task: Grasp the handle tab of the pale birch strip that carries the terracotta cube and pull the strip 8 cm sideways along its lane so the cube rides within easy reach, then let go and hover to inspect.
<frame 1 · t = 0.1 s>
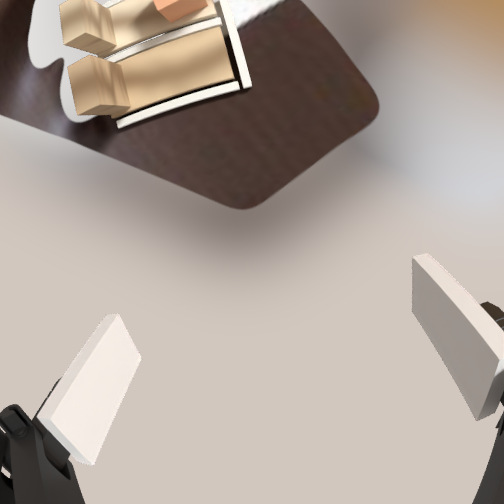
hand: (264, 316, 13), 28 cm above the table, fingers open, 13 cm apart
lane rails: (160, 42, 32), on the table
birch strip: (138, 4, 26), point 5 cm above the table, slide at 0.3 cm, touching cube
wooden l-shaped block: (152, 66, 29), point 5 cm above the table, slide at 0.3 cm
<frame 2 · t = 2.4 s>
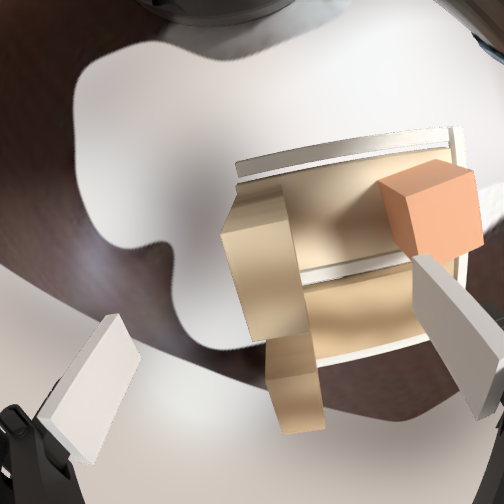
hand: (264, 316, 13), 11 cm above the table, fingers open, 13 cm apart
lane rails: (364, 259, 24), on the table
cube: (416, 201, 21), point 1 cm above the table, touching birch strip
birch strip: (374, 227, 18), point 5 cm above the table, slide at 0.3 cm, touching cube
wooden l-shaped block: (380, 342, 21), point 5 cm above the table, slide at 0.3 cm
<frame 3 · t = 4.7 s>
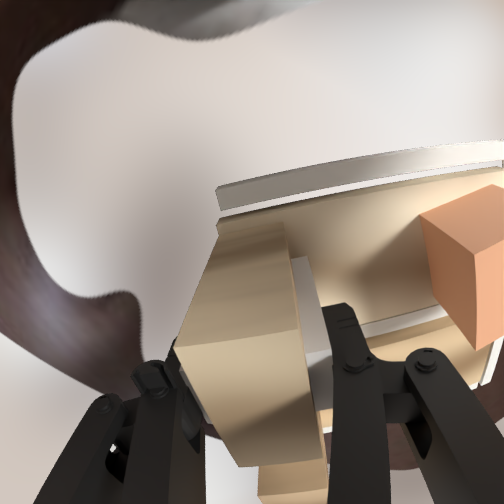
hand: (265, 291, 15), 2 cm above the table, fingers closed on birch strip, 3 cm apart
lane rails: (391, 314, 18), on the table
cube: (464, 241, 14), point 1 cm above the table, touching birch strip
birch strip: (419, 292, 12), point 5 cm above the table, slide at 0.3 cm, touching cube, gripper
wooden l-shaped block: (406, 420, 15), point 5 cm above the table, slide at 0.3 cm
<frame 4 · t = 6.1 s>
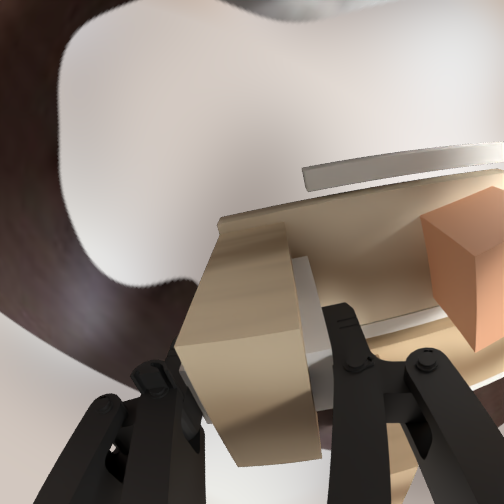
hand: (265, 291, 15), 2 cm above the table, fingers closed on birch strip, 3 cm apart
lane rails: (446, 300, 17), on the table
cube: (465, 243, 14), point 1 cm above the table, touching birch strip
birch strip: (420, 293, 12), point 5 cm above the table, slide at 4.4 cm, touching cube, gripper
wooden l-shaped block: (463, 401, 14), point 5 cm above the table, slide at 0.3 cm
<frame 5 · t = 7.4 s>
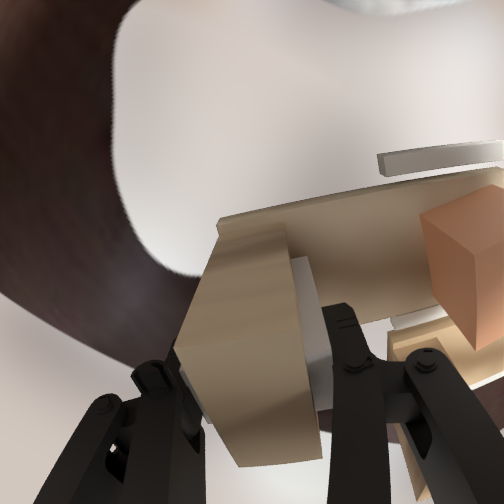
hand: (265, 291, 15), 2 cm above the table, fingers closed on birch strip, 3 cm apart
lane rails: (492, 284, 17), on the table
cube: (465, 241, 14), point 1 cm above the table, touching birch strip
birch strip: (419, 292, 12), point 5 cm above the table, slide at 8.3 cm, touching cube, gripper
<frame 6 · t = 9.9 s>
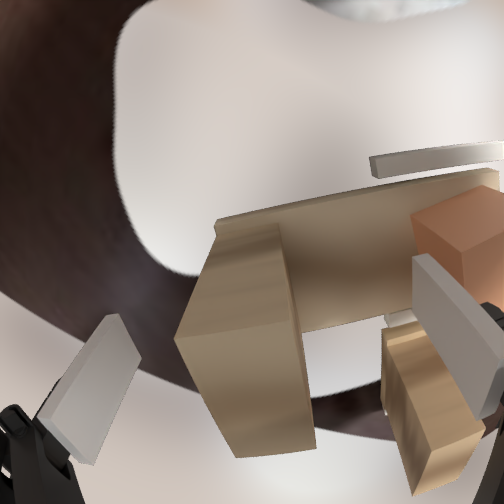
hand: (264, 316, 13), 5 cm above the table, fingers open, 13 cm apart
lane rails: (484, 282, 17), on the table
cube: (455, 240, 15), point 1 cm above the table, touching birch strip
birch strip: (409, 289, 12), point 5 cm above the table, slide at 8.3 cm, touching cube
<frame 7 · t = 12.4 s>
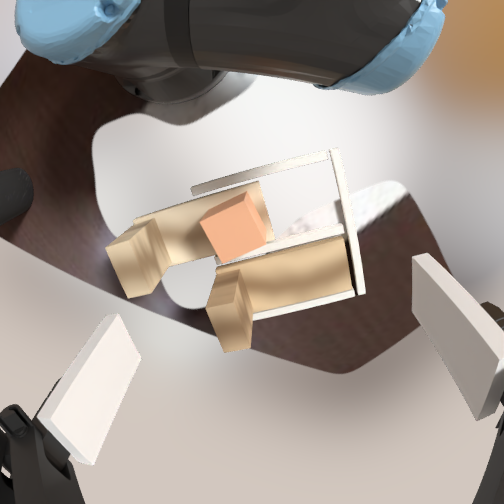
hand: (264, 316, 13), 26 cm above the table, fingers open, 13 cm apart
lane rails: (278, 242, 39), on the table
cube: (237, 219, 36), point 1 cm above the table, touching birch strip
travel mug: (19, 190, 38), on the table
birch strip: (194, 239, 34), point 5 cm above the table, slide at 8.3 cm, touching cube
wooden l-shaped block: (287, 294, 36), point 5 cm above the table, slide at 0.3 cm
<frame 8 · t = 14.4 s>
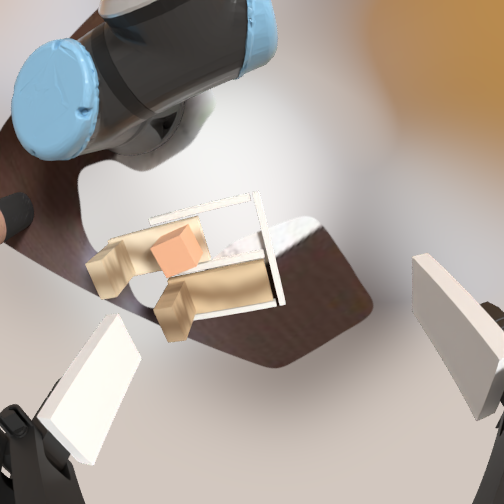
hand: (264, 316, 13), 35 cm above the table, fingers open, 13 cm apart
lane rails: (214, 261, 50), on the table
cube: (181, 244, 48), point 1 cm above the table, touching birch strip
travel mug: (22, 209, 49), on the table
birch strip: (148, 259, 45), point 5 cm above the table, slide at 8.3 cm, touching cube
wooden l-shaped block: (216, 302, 48), point 5 cm above the table, slide at 0.3 cm
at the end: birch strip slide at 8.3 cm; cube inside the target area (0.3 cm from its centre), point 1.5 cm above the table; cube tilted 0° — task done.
